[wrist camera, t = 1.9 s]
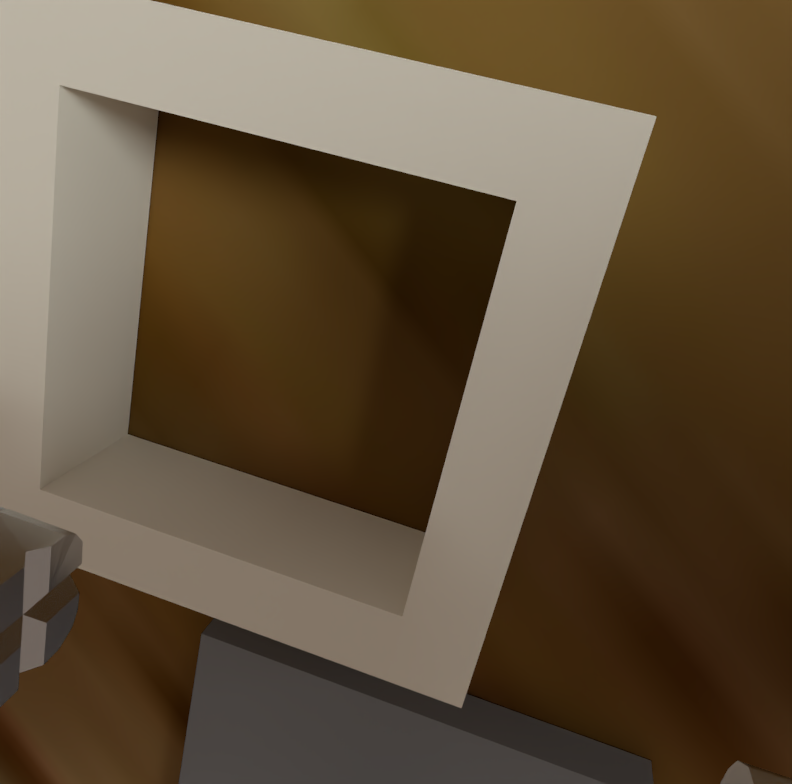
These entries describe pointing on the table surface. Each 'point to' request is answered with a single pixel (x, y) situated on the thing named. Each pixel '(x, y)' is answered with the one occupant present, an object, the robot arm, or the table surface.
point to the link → (121, 295)
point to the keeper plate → (365, 728)
